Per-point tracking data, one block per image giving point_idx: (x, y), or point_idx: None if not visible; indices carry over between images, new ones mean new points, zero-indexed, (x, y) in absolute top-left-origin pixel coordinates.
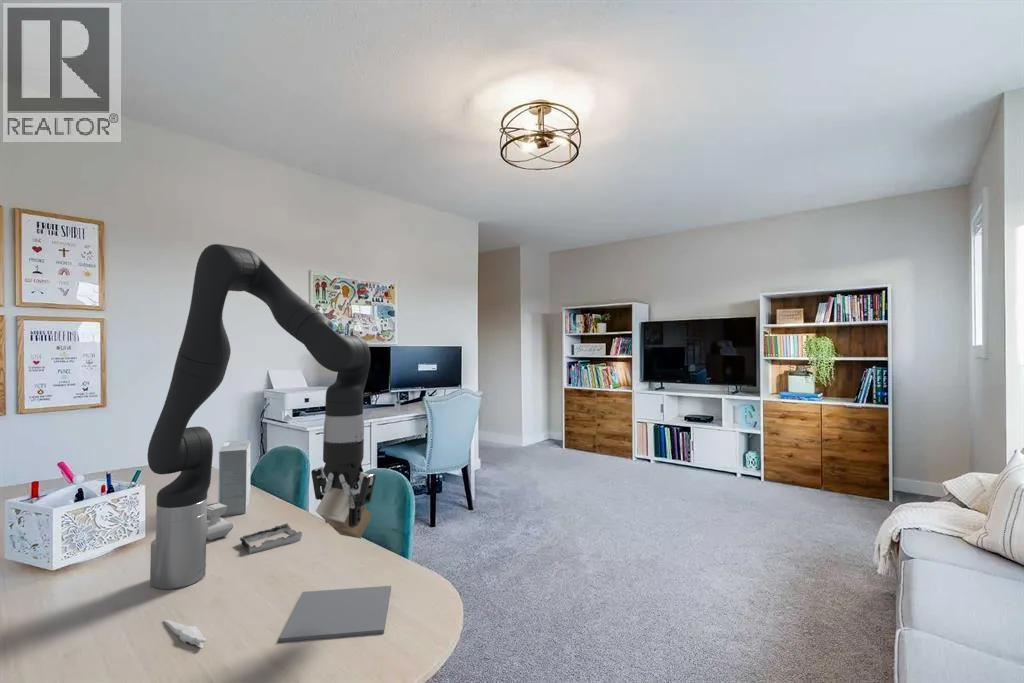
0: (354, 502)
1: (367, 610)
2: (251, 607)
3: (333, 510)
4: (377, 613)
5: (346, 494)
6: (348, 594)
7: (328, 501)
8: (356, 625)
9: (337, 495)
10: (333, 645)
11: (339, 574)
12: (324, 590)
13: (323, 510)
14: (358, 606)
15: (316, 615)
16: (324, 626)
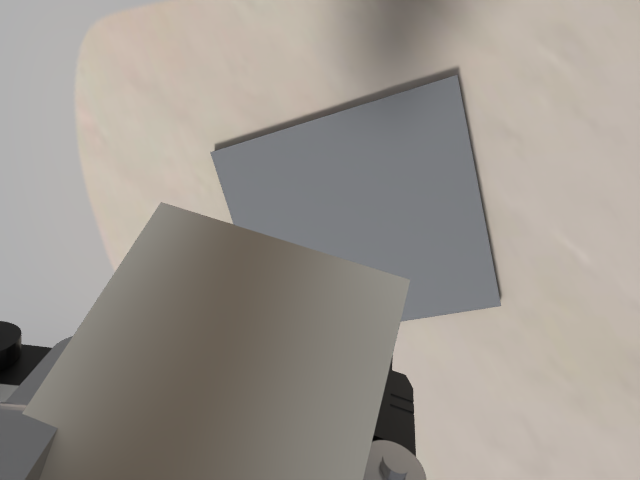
0: (40, 363)
1: (281, 228)
2: (631, 229)
3: (200, 249)
4: (252, 217)
5: (30, 423)
6: None
7: (276, 366)
8: (279, 161)
9: (163, 438)
10: (306, 86)
11: (438, 406)
12: (437, 314)
13: (314, 268)
14: (311, 243)
15: (402, 193)
16: (357, 146)
